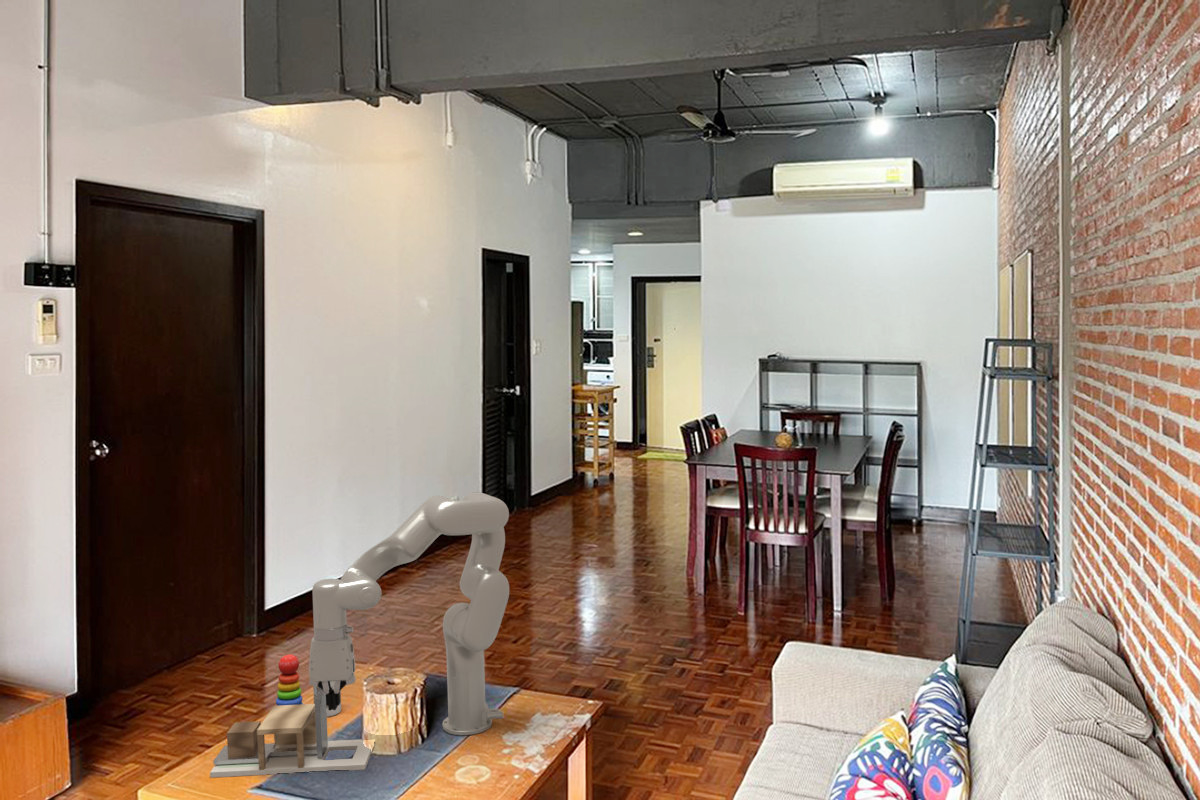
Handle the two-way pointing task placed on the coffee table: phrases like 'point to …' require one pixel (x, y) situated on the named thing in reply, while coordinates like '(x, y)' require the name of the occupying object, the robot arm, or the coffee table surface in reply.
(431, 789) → the coffee table surface
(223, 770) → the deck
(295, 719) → the tunnel
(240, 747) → the walnut block
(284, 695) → the stacking toy
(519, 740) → the coffee table surface
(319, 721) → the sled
